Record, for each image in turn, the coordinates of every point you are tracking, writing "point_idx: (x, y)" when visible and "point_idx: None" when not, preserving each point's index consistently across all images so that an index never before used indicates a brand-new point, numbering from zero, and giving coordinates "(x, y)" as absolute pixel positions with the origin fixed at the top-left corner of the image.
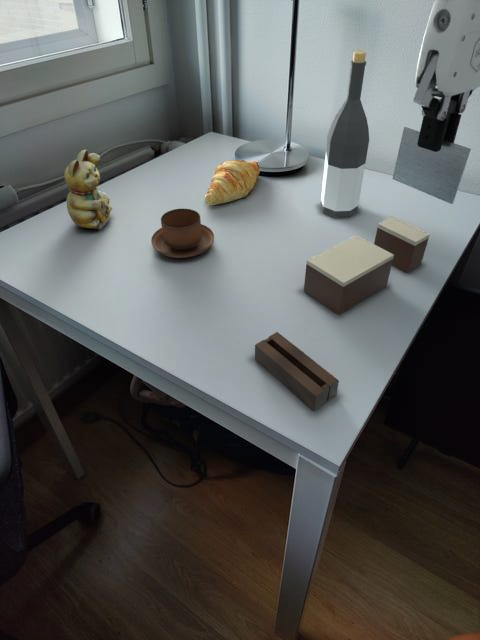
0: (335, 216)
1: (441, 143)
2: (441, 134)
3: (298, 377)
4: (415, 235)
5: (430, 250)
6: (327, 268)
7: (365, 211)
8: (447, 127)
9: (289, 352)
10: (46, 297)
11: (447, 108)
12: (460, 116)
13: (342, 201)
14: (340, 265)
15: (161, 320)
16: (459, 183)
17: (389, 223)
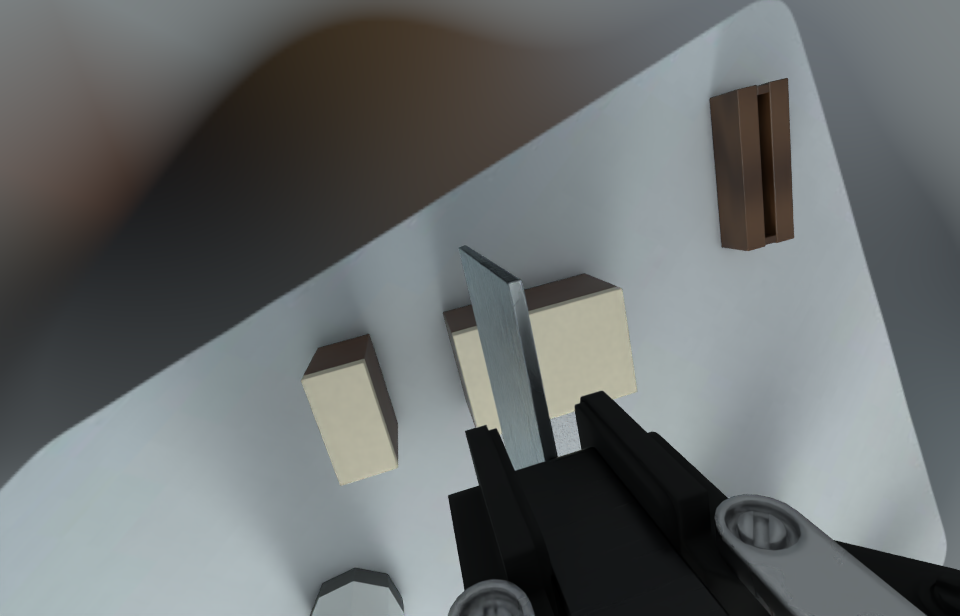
0: (386, 576)
1: (607, 409)
2: (649, 439)
3: (784, 131)
4: (343, 388)
5: (253, 388)
6: (620, 347)
7: (299, 580)
8: (560, 505)
9: (762, 192)
10: (925, 490)
11: (775, 572)
12: (508, 547)
13: (374, 607)
14: (589, 346)
15: (828, 380)
16: (472, 256)
17: (369, 459)
